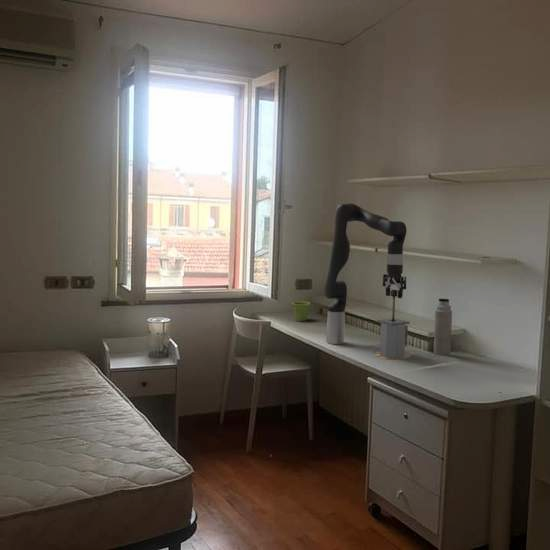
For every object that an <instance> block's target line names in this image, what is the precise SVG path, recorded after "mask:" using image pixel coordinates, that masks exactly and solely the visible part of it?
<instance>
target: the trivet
mask: <svg viewBox="0 0 550 550" xmlns="http://www.w3.org/2000/svg"><path fill="white" fill-rule="evenodd" d="M373 356H374V357H375V358H377V359H383V360H388V361H390V360H393V361H401V360H402V361H403V360H404V361H405V360H408V359H410V358H411V359H412V355H411V354H409V353H406V352H404V357H402V358H386V357H383V356H380V351H376V352H375V353H373Z"/></svg>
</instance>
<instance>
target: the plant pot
mask: <svg viewBox="0 0 550 550" xmlns="http://www.w3.org/2000/svg"><path fill="white" fill-rule="evenodd" d="M291 304H292V309H293V314H294V321H296V322H302V321H303V322H305V321H307V318H308V312H309V308H310V307H309V306H310V302H308V301H294V302H291Z"/></svg>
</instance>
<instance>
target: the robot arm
mask: <svg viewBox="0 0 550 550" xmlns="http://www.w3.org/2000/svg"><path fill="white" fill-rule="evenodd" d="M334 218H335V219H334V231H333V232H334V233H333V234H334V235H333V241H332V246H331V247H332V248H331V252H330V253H331V254H330V260H329V262H330V263H329V267H328V272H327V277H326V279H325V283H324V284H325V285H324V295H325V297H326V298H327V299H328V300H329V299H331V300H332V299H335V300H334V302H331V303H330V304H328V305H327V317H326V318H327V319H326V320H327V324H326V326H325V327H326V329H325V332H326V333H325V335H326V336H325V342H326V343H327V344H331V345H342V344H344V343H345V327H346V325H345V324H346V320H345V319H346V306H347V299H348V298H347V296H348V295H347V294H348V288H347V284H346V282H345V281H344V280H337V279H338V276H339V273H341V270H342V269H344V267H345V266H346V264H347V263H348V261H349V258H350V251H351V245H350V240H349V238H348V236H347V226H348V222H350V223H351V222H361V223H364V224H365V225H366V226H368V227H369V228H370V229H374V230H376V231H379V232H381V233H382V234H384V235H386V236H389V237H392V240H390V241H389V242H388V244H387V257H386V273H384V274H383V275H382V276H383V277H382V286H383V287H384V288H385V296H387V297H389V296H390V297H391V287H392V285H394V286H395V287H396V288H397V290H398V293H397V298H398V299H402V298H403V294H404V293H403V292H404V290H407V277H406V276H402V274H403V272H404V269H403V268H404V255H403V254H404V251H403V250H404V244H405V240H406V236H407V226H406V224H405V222H404V221H400V220H399V221H398V220H397V221H396V220H394V221H393V220H390V219H388V217H385V216H382V215H378V214H375V213H372V212H370V211H368V210H365V209H364V208H362V207H361V206H358V205H357V204H355V203H341V204H339V205H338V206H337V207H336V210H335V217H334Z"/></svg>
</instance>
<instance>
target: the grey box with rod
mask: <svg viewBox="0 0 550 550" xmlns="http://www.w3.org/2000/svg"><path fill="white" fill-rule="evenodd" d="M376 322H377V323H380V345H379V346H380V347H379V348H380V349H379V350H380V351H379V352H380V356H383V357H386V358H402V357H404V353H405V347H407V346H408V330H409V324H410V322H411V321H408V320H404V319H401V318H395V317H394V321H392V317H391V318H384V319H382V318H381V319H377V320H376Z"/></svg>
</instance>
